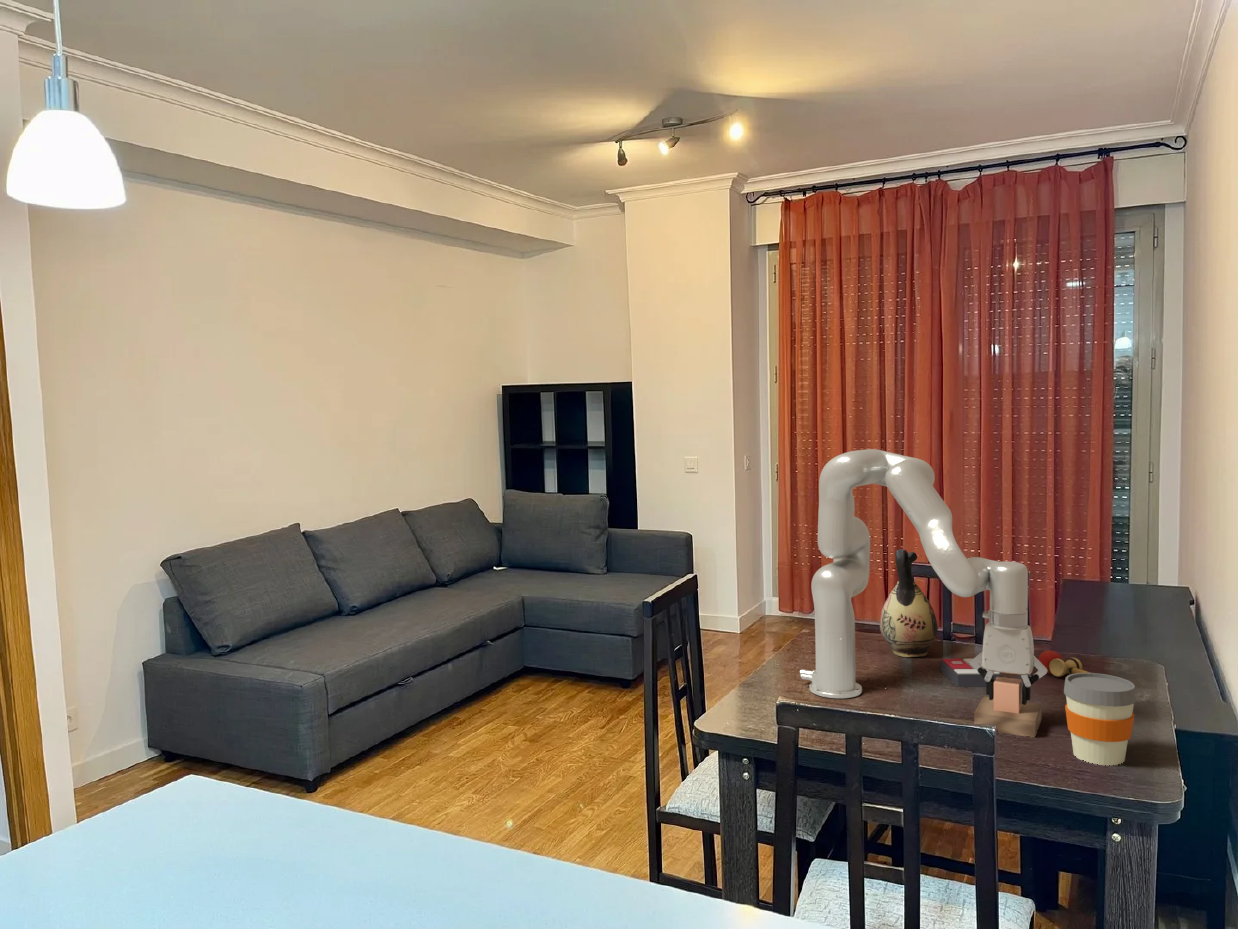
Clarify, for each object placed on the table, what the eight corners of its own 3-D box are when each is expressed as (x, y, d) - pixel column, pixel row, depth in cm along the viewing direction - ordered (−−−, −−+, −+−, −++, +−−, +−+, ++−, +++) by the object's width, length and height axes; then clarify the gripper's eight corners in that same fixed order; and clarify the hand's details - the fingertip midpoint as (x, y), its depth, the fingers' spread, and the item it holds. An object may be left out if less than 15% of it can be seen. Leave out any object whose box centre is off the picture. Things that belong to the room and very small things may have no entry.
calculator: (982, 657, 234) (1002, 671, 219) (982, 673, 234) (1003, 688, 219) (939, 657, 235) (956, 671, 220) (940, 673, 235) (957, 689, 220)
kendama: (1115, 691, 218) (1051, 663, 234) (1116, 668, 217) (1051, 641, 233) (1094, 702, 215) (1030, 672, 231) (1094, 678, 214) (1030, 651, 229)
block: (993, 710, 194) (993, 683, 193) (996, 703, 198) (996, 676, 197) (1018, 713, 191) (1018, 686, 191) (1021, 706, 195) (1021, 679, 195)
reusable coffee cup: (1071, 740, 185) (1072, 669, 184) (1140, 753, 177) (1141, 679, 176) (1056, 759, 175) (1056, 684, 174) (1128, 775, 167) (1129, 696, 166)
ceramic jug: (887, 643, 261) (887, 542, 259) (942, 650, 253) (942, 545, 251) (871, 658, 246) (871, 551, 244) (929, 665, 238) (929, 554, 236)
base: (974, 730, 193) (974, 712, 192) (983, 713, 203) (983, 696, 203) (1035, 740, 186) (1035, 721, 186) (1041, 722, 197) (1041, 704, 196)
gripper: (963, 619, 194) (963, 700, 196) (1050, 627, 185) (1050, 712, 187) (969, 611, 201) (969, 690, 202) (1054, 619, 192) (1053, 701, 193)
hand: (1008, 700), depth 194 cm, fingers open, 6 cm apart
